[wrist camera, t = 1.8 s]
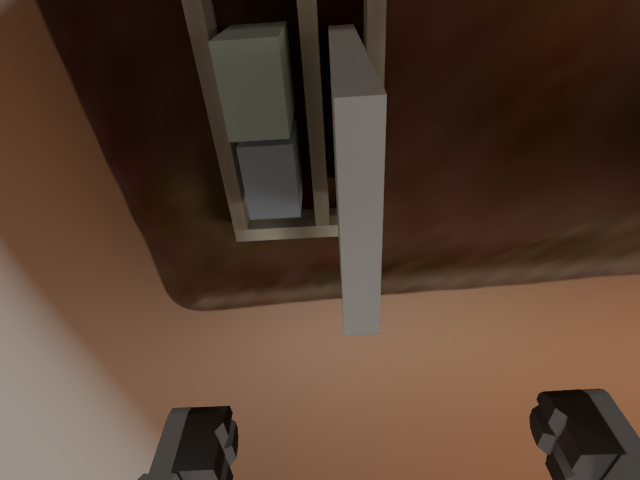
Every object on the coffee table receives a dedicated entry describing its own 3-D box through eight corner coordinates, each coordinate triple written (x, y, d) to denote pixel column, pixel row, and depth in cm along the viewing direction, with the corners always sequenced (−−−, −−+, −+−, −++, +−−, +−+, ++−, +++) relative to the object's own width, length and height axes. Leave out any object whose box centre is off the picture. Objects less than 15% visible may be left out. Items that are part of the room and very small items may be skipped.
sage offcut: (286, 20, 28) (277, 36, 22) (295, 106, 31) (289, 138, 26) (231, 24, 28) (208, 41, 22) (245, 109, 32) (228, 142, 26)
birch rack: (381, -52, 26) (388, -53, 23) (376, 216, 37) (380, 234, 35) (187, -36, 26) (173, -36, 24) (242, 223, 38) (236, 241, 35)
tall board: (353, 23, 28) (386, 94, 13) (355, 176, 35) (379, 333, 20) (328, 25, 28) (333, 98, 13) (335, 178, 35) (344, 335, 20)
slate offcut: (296, 118, 32) (292, 144, 28) (303, 184, 36) (300, 217, 31) (247, 121, 32) (236, 147, 28) (259, 187, 36) (250, 219, 31)
